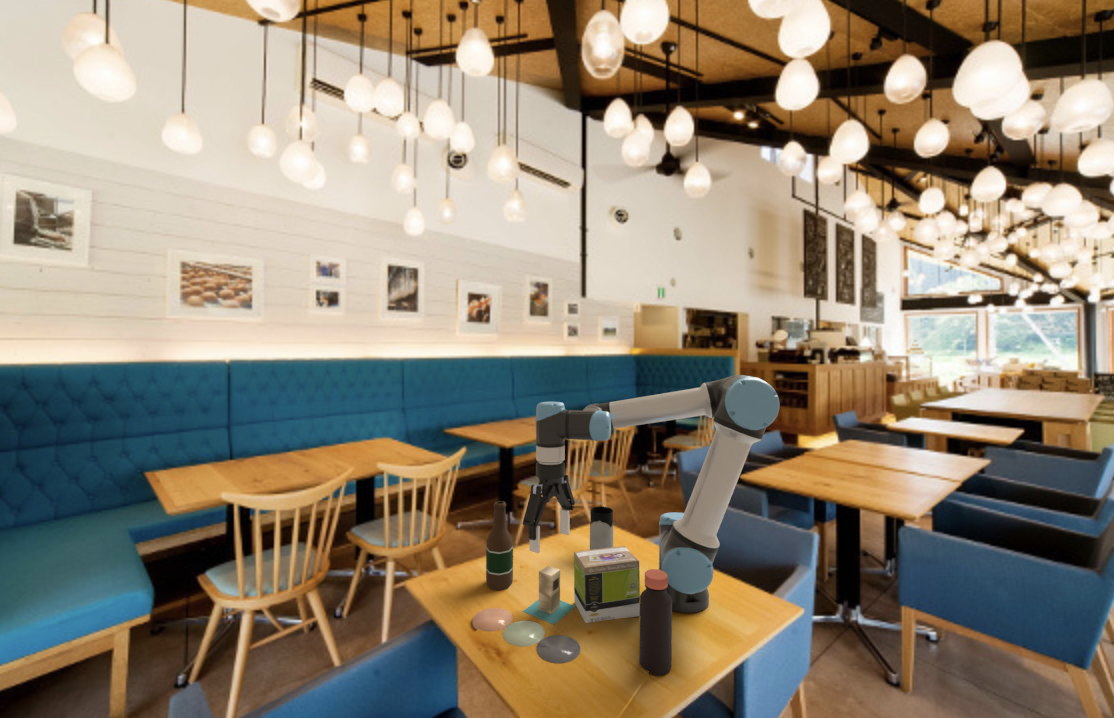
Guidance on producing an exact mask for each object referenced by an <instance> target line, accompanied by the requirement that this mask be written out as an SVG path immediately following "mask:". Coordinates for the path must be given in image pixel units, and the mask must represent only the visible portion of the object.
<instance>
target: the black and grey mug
mask: <svg viewBox="0 0 1114 718" xmlns="http://www.w3.org/2000/svg"><path fill="white" fill-rule="evenodd" d="M612 547H614V510H613V508H610V507H608V506H607V505H606V506H594V507H592V508H590V522H589V550H594V549H604V548H612Z"/></svg>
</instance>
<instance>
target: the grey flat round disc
mask: <svg viewBox="0 0 1114 718" xmlns="http://www.w3.org/2000/svg"><path fill="white" fill-rule="evenodd" d="M535 651H536V654H537V655H538V657H539V658H540V659H542V660H543V661H545V662H548V663H550V664H567V663H569V662H572V661H574V660H576V659H577V658H578V656H579V655H580V653H581V646H580V643H579V642H578V641H577V640H575V639H574V638H573V637H571V636H568V635H563V634H553V635H548V636H546V637H545V636H544V637H543V639H542V640H541V641H540V642H538V643H536V649H535Z"/></svg>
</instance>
